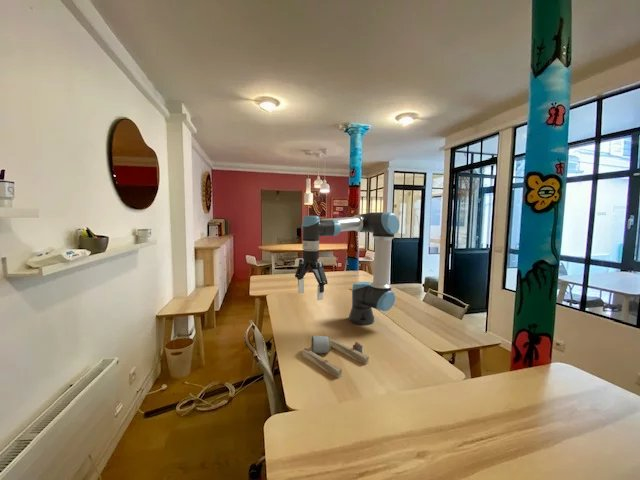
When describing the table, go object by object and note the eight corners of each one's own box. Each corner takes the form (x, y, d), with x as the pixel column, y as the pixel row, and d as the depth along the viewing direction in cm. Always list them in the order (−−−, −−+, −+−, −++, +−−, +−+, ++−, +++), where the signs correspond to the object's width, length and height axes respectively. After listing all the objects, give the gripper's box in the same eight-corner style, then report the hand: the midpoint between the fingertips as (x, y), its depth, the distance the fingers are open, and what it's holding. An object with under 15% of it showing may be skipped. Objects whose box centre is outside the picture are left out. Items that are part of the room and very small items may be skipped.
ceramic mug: (331, 355, 127) (331, 338, 127) (312, 356, 126) (313, 339, 125) (326, 345, 138) (327, 330, 137) (310, 346, 136) (310, 330, 136)
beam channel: (337, 342, 141) (337, 331, 140) (374, 360, 123) (374, 348, 123) (301, 355, 127) (302, 344, 126) (337, 378, 109) (338, 365, 109)
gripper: (287, 248, 135) (287, 292, 136) (323, 253, 116) (322, 304, 118) (300, 247, 140) (300, 289, 141) (336, 252, 121) (335, 300, 123)
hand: (310, 296), depth 130 cm, fingers open, 13 cm apart
